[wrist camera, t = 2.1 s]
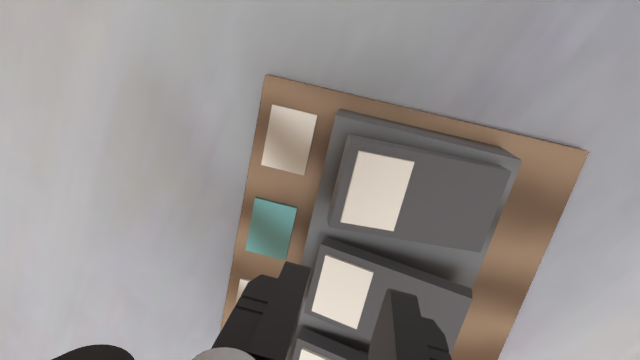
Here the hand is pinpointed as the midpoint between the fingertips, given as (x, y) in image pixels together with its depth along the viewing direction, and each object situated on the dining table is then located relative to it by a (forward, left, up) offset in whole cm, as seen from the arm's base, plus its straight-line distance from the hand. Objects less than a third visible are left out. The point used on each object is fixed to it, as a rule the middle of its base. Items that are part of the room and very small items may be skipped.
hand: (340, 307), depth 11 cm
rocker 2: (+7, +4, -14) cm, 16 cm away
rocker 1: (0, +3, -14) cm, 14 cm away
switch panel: (+7, +4, -19) cm, 21 cm away
